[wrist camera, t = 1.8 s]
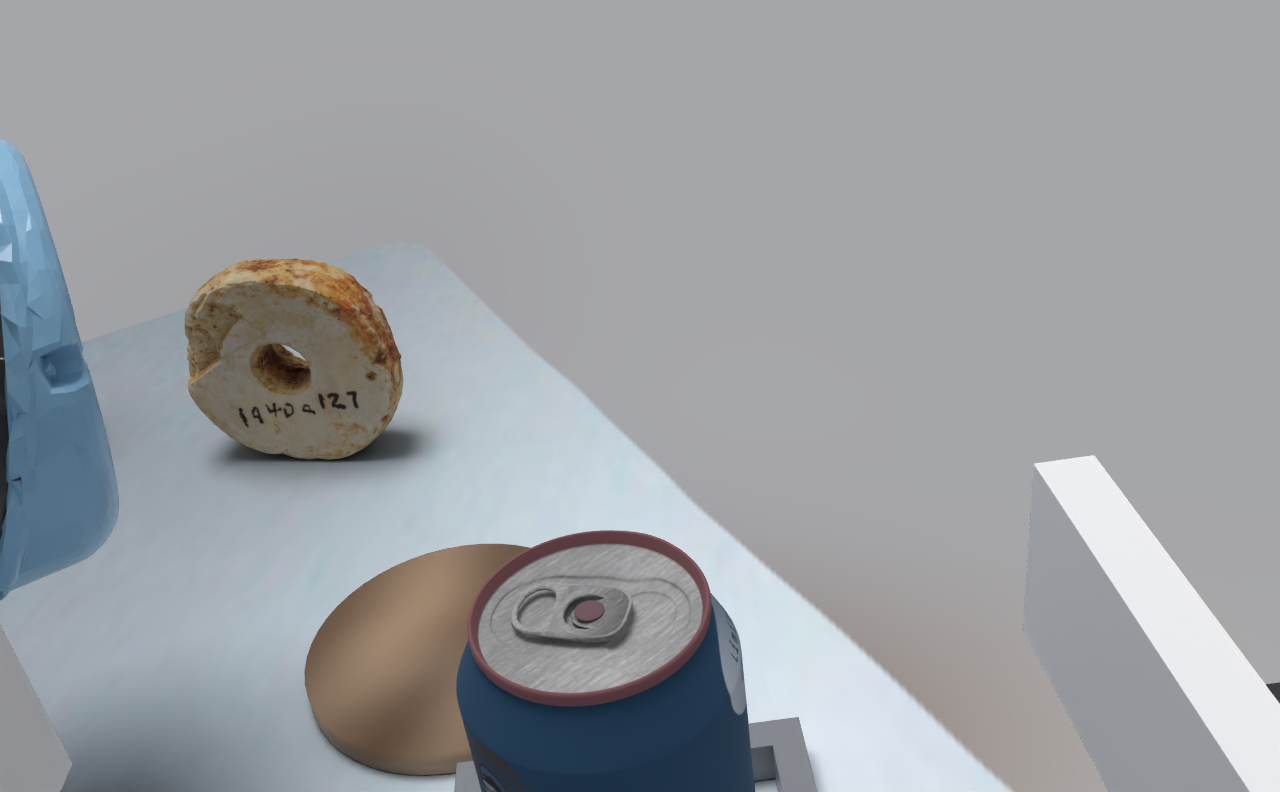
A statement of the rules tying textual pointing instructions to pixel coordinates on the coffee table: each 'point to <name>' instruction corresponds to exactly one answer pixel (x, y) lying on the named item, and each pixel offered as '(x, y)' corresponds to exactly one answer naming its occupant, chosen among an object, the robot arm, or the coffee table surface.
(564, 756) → the soda can
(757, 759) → the can holder
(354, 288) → the stone disc
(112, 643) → the coffee table surface
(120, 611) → the coffee table surface
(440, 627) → the coaster
